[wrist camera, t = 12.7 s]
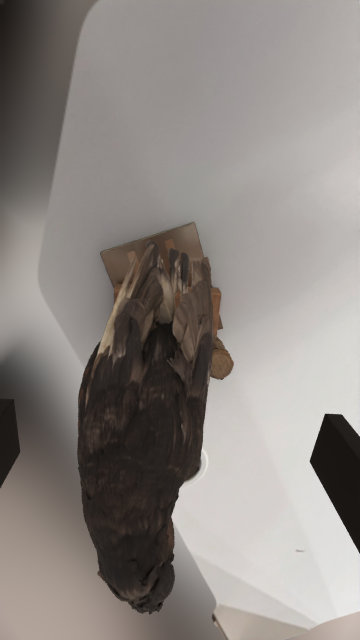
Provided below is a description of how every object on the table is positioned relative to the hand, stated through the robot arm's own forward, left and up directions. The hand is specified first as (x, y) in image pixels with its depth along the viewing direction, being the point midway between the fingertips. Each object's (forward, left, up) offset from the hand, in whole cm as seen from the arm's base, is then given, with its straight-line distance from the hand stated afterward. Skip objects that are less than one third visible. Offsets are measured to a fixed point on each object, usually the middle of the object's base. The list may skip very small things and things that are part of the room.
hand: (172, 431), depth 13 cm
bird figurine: (0, 0, -22) cm, 22 cm away
